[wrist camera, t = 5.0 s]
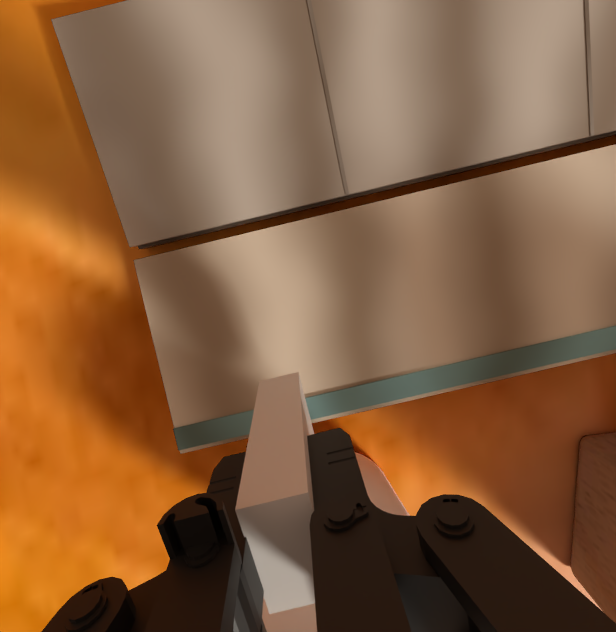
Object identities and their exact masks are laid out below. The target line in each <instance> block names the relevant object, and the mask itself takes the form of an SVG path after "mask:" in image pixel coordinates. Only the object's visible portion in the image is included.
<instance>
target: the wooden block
mask: <svg viewBox="0 0 616 632" xmlns="http://www.w3.org/2000/svg"><path fill="white" fill-rule="evenodd" d="M571 569H572V572H573V574H574V576H575V577H576V578H577V580H578V581H579V582H580V583H581V585H582V586H583V587H584V588H585V590H586V591H587V592H588V593H589V595H590V596H591V597H592V598H593V600H594V601H595V602H596V603H597V605H598V606H599V607H600V608H601V609H602V611H603V612H604V613H605V614H606V615H607V616H608V617H609V618H610V619H611V620H613V621H614V622H615V623H616V432H614V433H605V434H597V435H588V436H585V437H583V438H582V439H581V441H580V448H579V461H578V475H577V488H576V501H575V514H574V527H573V541H572V554H571Z"/></svg>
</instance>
